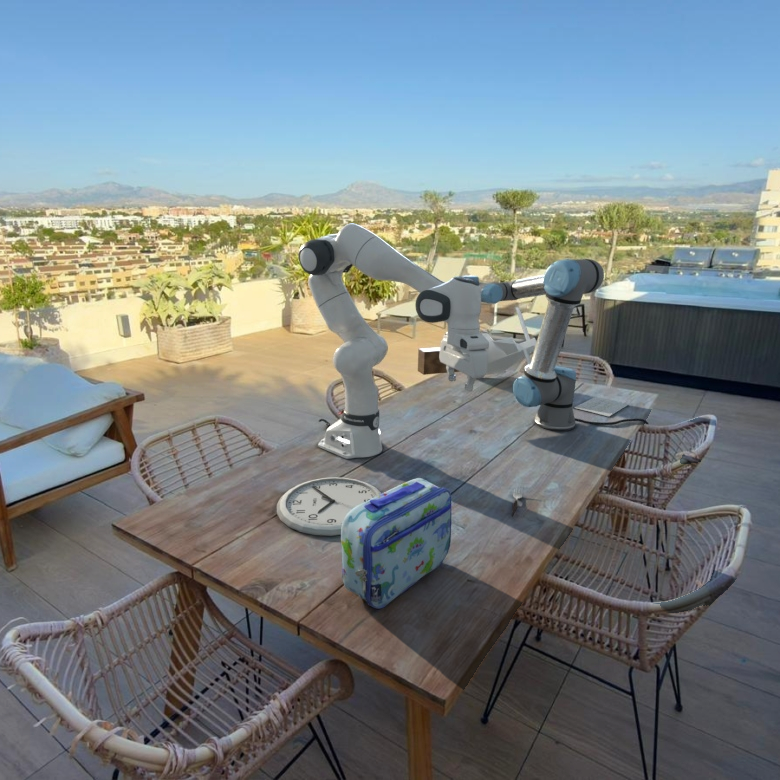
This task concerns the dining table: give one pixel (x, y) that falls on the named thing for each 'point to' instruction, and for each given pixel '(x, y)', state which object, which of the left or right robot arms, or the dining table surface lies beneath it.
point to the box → (431, 361)
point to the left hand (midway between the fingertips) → (460, 385)
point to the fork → (517, 496)
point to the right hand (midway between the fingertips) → (464, 367)
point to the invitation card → (601, 406)
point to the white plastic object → (508, 350)
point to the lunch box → (395, 540)
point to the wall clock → (323, 504)
